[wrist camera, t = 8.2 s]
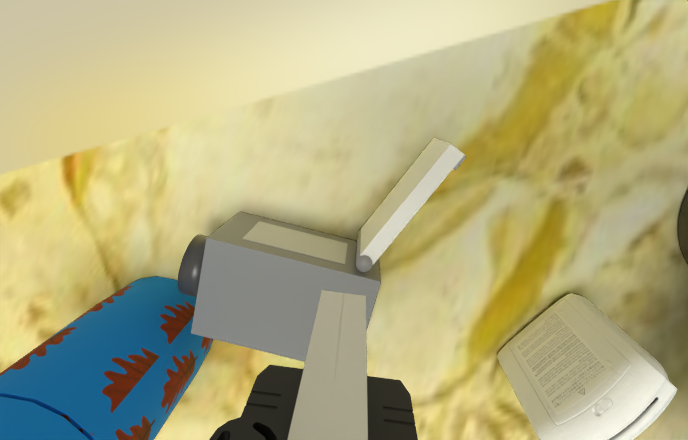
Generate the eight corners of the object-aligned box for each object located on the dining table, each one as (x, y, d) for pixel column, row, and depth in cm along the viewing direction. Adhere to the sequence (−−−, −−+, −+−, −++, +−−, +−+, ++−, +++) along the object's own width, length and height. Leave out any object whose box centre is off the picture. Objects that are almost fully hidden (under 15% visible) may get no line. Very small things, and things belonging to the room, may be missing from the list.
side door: (372, 248, 37) (374, 281, 29) (355, 235, 36) (352, 265, 29) (452, 150, 34) (475, 161, 27) (434, 136, 34) (452, 142, 27)
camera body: (377, 245, 37) (381, 284, 29) (356, 322, 39) (353, 378, 31) (218, 205, 37) (175, 232, 28) (205, 284, 39) (161, 331, 30)
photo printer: (517, 381, 40) (583, 496, 28) (487, 355, 39) (540, 461, 27) (601, 312, 38) (711, 405, 26) (570, 283, 37) (668, 365, 25)
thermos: (108, 361, 42) (-245, 703, 18) (110, 266, 39) (-308, 517, 15) (212, 379, 42) (0, 749, 17) (221, 285, 39) (-17, 570, 15)
